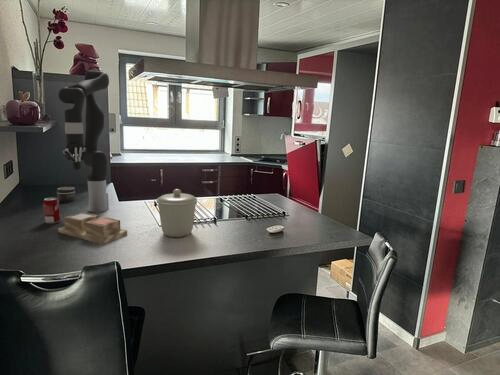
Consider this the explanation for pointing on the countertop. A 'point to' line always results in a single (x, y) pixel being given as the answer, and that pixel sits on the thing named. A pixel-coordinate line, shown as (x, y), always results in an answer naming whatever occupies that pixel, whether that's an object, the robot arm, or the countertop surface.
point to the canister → (177, 213)
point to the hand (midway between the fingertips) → (76, 169)
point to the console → (92, 229)
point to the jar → (66, 194)
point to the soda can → (51, 210)
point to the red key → (102, 221)
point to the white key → (81, 216)
